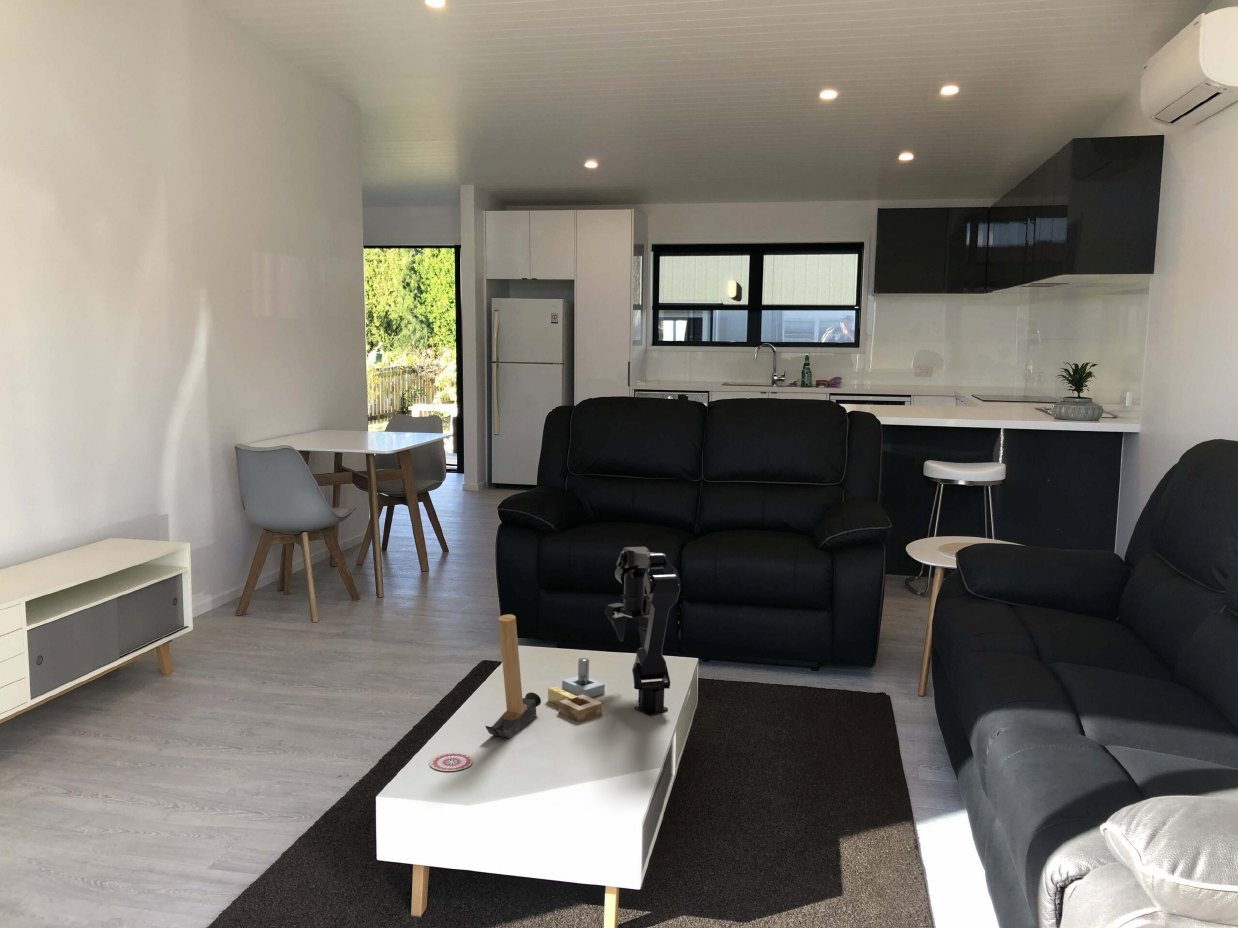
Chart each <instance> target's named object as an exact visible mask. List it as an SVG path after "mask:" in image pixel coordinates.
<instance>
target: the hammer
mask: <svg viewBox="0 0 1238 928" xmlns="http://www.w3.org/2000/svg"><path fill="white" fill-rule="evenodd" d="M497 618H498V630H499V639H500V640H499V641H500V648H501V663H502V670H503V671H502V672H503V683H504V690H505V691H504V692H505V693H504V694H505V695H504V696H505V705H506V711H504V713H503V714H502V715H501V716H500V717H499V718H498V719H497V720H496V722H495V723H494V724H493V725H492V726H488V725H485V729H486V730H487V732H488V734H489V735H491V736H497V737H502V738H507V739H511V738H513V737H515V735H517V734H518V733H519V732H520V731H522V730H523V729H524V728H526V727H527V726H528V725H529V724H530V723H531V722H532V720H533V719H534V718H535V717H536V716H537V707H539V706H541V704H542V699H541V697H540V696H539V695H538V694H537V693H535V692H528V693H526V694H525V697H523V690H522V688H523V687H522V678H521V666H520V654H519V653H520V651H519V641H518V630H517V628H518V627H517V618H516V615H514V614H511V613H510V614H503V615H501V616H499V617H497Z"/></svg>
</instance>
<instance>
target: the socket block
mask: <svg viewBox="0 0 1238 928" xmlns="http://www.w3.org/2000/svg"><path fill="white" fill-rule="evenodd" d="M558 713H560V714H562V715H564V716H566V717H568V718H569V719H572V720H575V721H576V722H578V723H580V722H582V721H585V720H588V719H592V718H595V717H597V716H600V715H603V702H601V701H600V700H597V699H595V698H593V697H588V696H585V695H583V694H582V695H579V696H578V705H577V704H574V703H572V701H570V700H568V699H565V700H562V701H559V705H558Z"/></svg>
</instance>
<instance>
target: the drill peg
mask: <svg viewBox="0 0 1238 928" xmlns="http://www.w3.org/2000/svg"><path fill="white" fill-rule="evenodd" d="M577 667H578V668H577V676H578V685H581V686H585V685H588V684H589V678H590V659H589V658H586V657H581V658H579V659H578V662H577Z"/></svg>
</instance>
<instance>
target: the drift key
mask: <svg viewBox="0 0 1238 928" xmlns="http://www.w3.org/2000/svg"><path fill="white" fill-rule="evenodd" d="M565 699H568V700H570V701H572V703H574V704H577V705H578V696H577V695H575V694H573V693H571V692H568V691H566V690H564V689H562V688H559V687H557V686H552V687H550V686H549V687H548V689H547V701H548V702H550V703H552V704H555V705H556V706H559V701H562V700H565Z"/></svg>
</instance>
